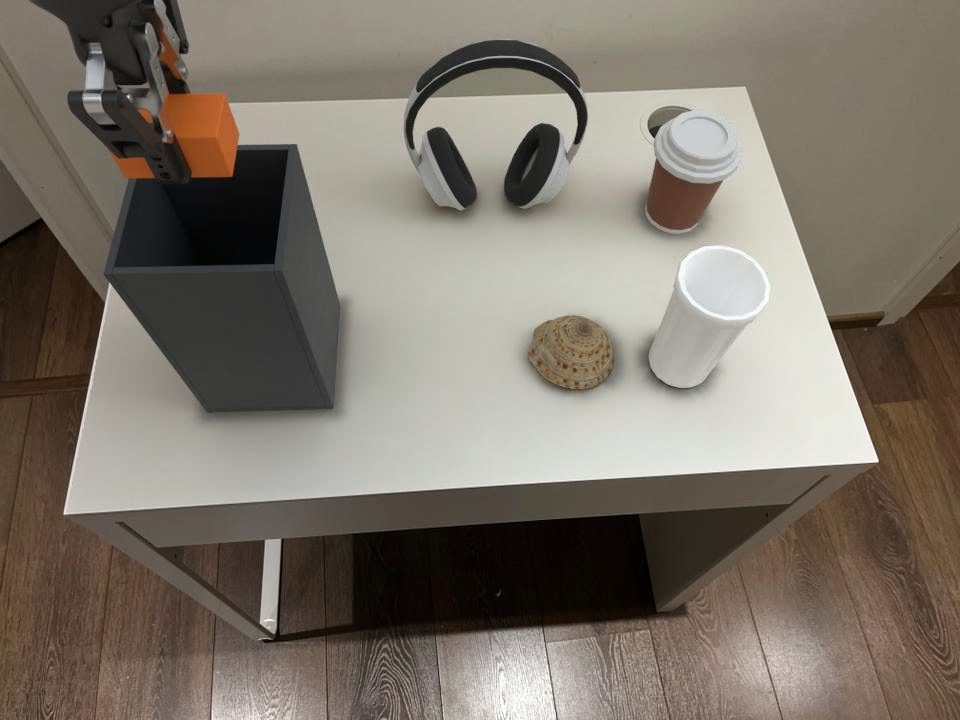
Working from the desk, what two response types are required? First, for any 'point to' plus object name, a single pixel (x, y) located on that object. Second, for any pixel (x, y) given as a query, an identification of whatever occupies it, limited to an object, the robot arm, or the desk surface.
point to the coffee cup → (690, 168)
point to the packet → (195, 136)
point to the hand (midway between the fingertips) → (181, 153)
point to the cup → (707, 313)
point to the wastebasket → (233, 282)
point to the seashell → (572, 352)
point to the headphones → (538, 154)
